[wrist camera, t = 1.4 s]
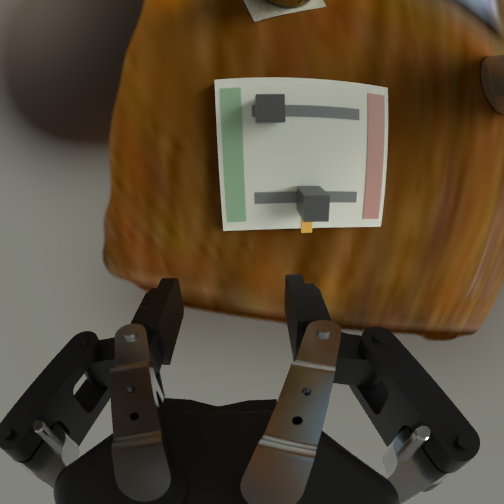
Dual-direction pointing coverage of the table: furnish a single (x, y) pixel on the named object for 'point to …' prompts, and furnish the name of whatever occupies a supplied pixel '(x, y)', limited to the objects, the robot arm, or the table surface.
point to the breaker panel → (301, 152)
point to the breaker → (269, 108)
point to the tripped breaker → (313, 203)
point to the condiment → (279, 7)
